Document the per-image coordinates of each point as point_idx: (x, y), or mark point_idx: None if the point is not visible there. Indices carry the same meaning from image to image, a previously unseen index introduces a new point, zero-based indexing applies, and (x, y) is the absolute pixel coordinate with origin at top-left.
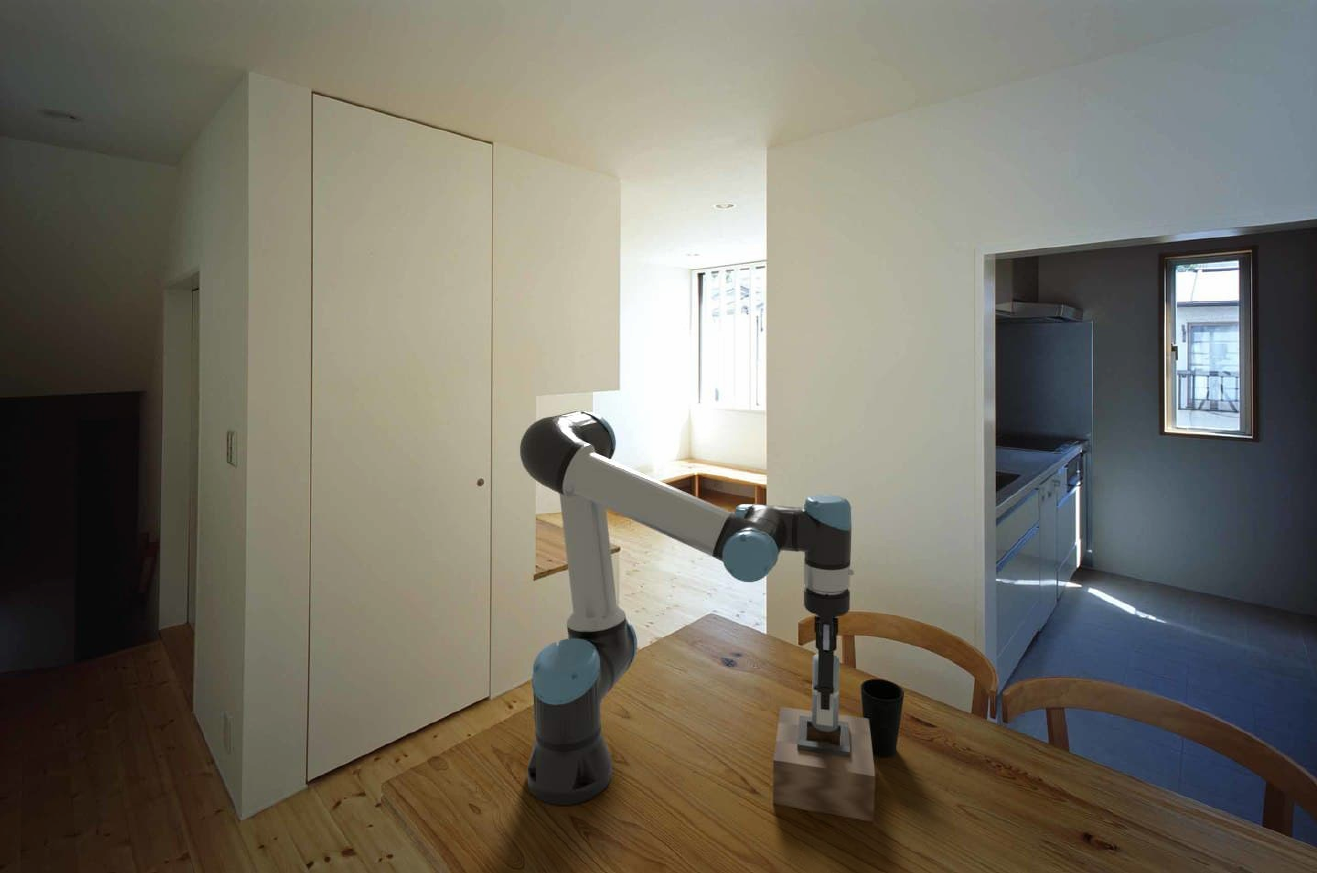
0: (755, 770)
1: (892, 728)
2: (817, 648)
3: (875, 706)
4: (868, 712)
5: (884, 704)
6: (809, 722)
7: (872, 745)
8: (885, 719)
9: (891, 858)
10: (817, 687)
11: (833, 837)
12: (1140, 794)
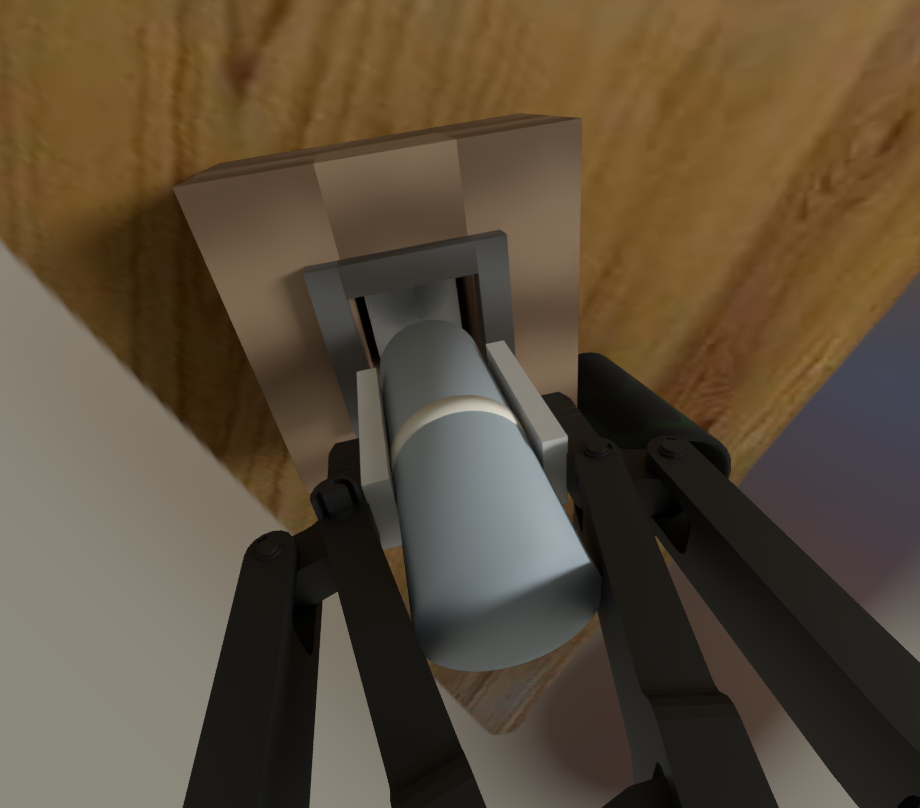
0: (350, 48)
1: None
2: (391, 800)
3: None
4: (601, 429)
5: None
6: (478, 280)
7: None
8: None
9: (228, 458)
10: (258, 558)
11: (206, 350)
12: (559, 661)
